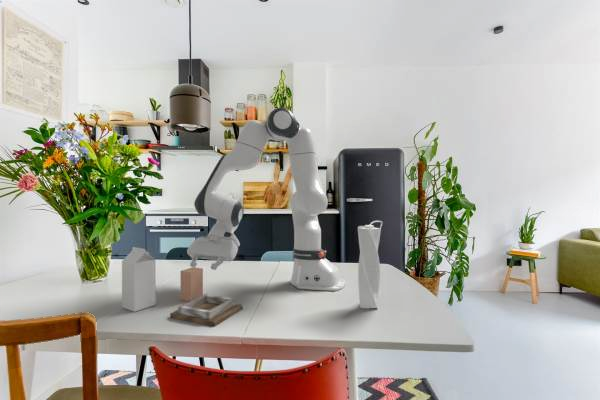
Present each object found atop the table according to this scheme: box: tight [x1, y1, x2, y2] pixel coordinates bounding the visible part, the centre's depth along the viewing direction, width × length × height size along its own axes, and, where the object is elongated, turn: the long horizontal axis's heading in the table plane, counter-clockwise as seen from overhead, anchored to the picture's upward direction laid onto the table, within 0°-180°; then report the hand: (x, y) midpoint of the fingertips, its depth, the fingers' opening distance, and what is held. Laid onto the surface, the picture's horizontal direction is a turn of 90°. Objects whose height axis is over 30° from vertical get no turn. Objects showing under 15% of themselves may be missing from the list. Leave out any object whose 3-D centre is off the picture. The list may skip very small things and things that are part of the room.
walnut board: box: [169, 293, 244, 327], centre depth 93 cm, size 16×14×3 cm
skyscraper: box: [357, 219, 384, 310], centre depth 100 cm, size 8×8×28 cm
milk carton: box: [121, 246, 157, 312], centre depth 98 cm, size 7×7×19 cm
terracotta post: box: [180, 267, 204, 302], centre depth 107 cm, size 4×6×10 cm
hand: (202, 267), depth 112 cm, fingers open, 8 cm apart
